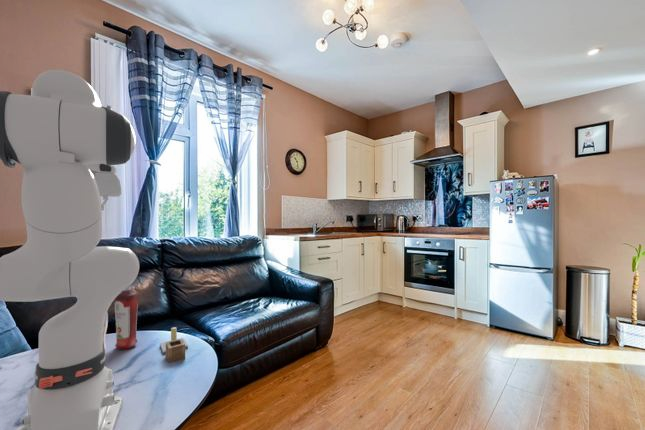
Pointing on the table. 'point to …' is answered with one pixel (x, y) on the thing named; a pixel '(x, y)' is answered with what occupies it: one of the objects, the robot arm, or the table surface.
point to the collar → (175, 350)
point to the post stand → (173, 337)
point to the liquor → (126, 318)
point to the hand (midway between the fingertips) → (82, 210)
